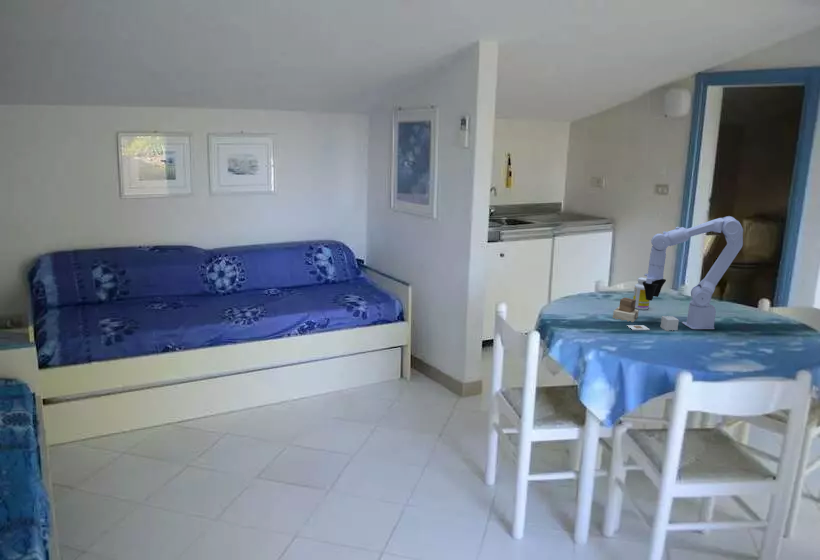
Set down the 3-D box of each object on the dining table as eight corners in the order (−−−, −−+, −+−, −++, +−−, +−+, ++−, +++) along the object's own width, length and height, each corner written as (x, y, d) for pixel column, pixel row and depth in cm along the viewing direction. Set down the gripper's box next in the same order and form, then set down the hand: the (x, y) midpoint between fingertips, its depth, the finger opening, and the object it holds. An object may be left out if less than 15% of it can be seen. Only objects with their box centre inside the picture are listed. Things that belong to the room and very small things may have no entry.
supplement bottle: (651, 309, 280) (655, 279, 277) (641, 311, 276) (645, 281, 273) (638, 305, 285) (642, 276, 282) (628, 306, 282) (632, 277, 278)
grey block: (671, 327, 256) (672, 316, 255) (677, 331, 252) (678, 319, 251) (660, 327, 256) (661, 316, 254) (666, 331, 251) (667, 319, 250)
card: (643, 325, 256) (643, 325, 256) (649, 330, 251) (649, 329, 251) (626, 325, 255) (626, 324, 255) (632, 330, 250) (632, 329, 250)
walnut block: (623, 308, 268) (625, 297, 267) (634, 310, 265) (635, 299, 264) (619, 310, 265) (620, 299, 264) (629, 312, 262) (631, 301, 261)
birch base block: (617, 314, 271) (618, 306, 270) (637, 318, 267) (638, 310, 266) (612, 319, 264) (613, 310, 263) (632, 323, 260) (634, 314, 259)
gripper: (652, 260, 265) (648, 292, 268) (640, 265, 254) (635, 299, 257) (670, 263, 261) (665, 296, 264) (658, 268, 250) (653, 303, 253)
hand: (652, 298), depth 261 cm, fingers open, 7 cm apart
